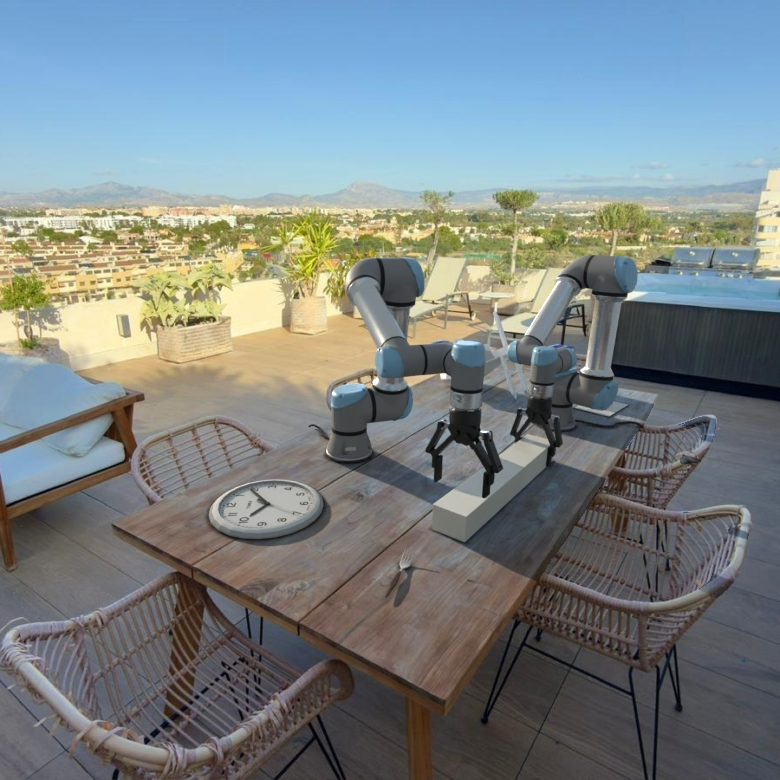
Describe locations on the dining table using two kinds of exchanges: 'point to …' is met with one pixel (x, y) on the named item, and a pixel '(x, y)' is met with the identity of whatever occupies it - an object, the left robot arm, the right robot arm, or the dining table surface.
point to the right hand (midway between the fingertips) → (533, 460)
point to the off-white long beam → (465, 503)
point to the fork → (403, 565)
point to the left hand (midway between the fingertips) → (461, 488)
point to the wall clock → (266, 509)
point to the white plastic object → (497, 361)
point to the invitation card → (608, 412)
